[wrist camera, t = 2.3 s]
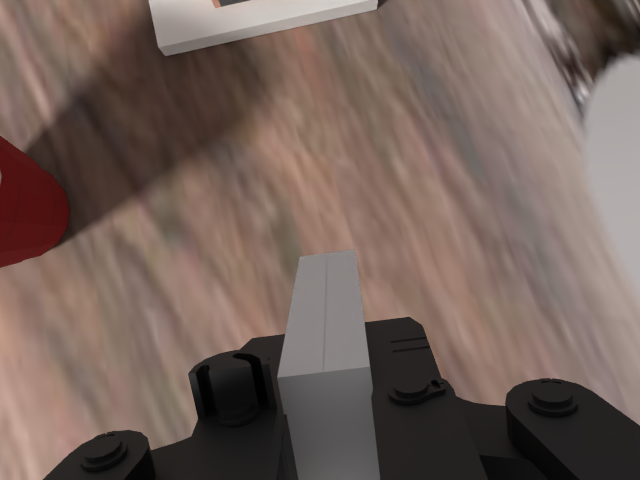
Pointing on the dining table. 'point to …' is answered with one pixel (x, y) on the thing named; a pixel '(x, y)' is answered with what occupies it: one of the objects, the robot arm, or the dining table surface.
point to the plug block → (226, 2)
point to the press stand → (239, 19)
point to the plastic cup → (28, 207)
